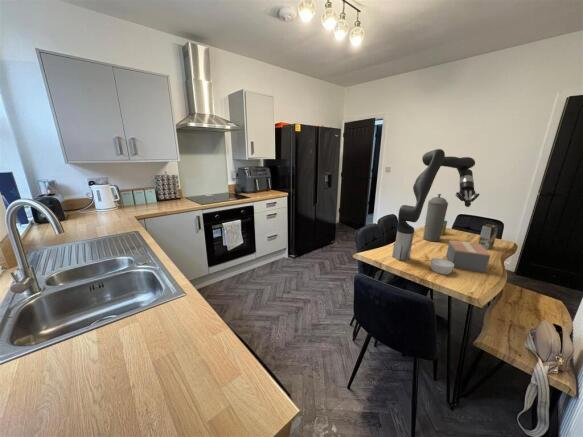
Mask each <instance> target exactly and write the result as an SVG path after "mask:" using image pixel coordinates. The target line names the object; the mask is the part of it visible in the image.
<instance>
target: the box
mask: <svg viewBox="0 0 583 437" xmlns="http://www.w3.org/2000/svg"><path fill="white" fill-rule="evenodd" d="M445 257H446V260H449V261H451V262H452V263H454V267H453V269H454V268H455V269H460V270H465V271H466V270H467V271H472V272H479V273H484V274H486V273H487V269H488V265H489V263H490V262H489V261H490V258H491V255H490V256H485V255H478V254H471V253H464V252H457V251H455V250H454V248H453V247H452V245H451V244H450V242H448V245H447V251H446V255H445Z"/></svg>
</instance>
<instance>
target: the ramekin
mask: <svg viewBox="0 0 583 437" xmlns="http://www.w3.org/2000/svg"><path fill="white" fill-rule="evenodd" d="M429 262H430V269H431V270H432V271H433V272H434V273H436V274H440V275H450V274H452V271H453V269H454V268H453V267H454V263H452V262H451V261H449V260H448V259H447V258H446V259H445V258H439V257H435V258H434V257H433V258H431V259H430V261H429Z"/></svg>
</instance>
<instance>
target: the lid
mask: <svg viewBox="0 0 583 437" xmlns="http://www.w3.org/2000/svg"><path fill="white" fill-rule="evenodd" d="M449 242H450V244H451V245H452V247H453V248H454V250H455V251H457V252H464V253H471V254H478V255H485V256H490V257H491V254H490V253H489V252H488V250H486V249H484V247H483V246H482V245H481V244H478V243H473V242H467V241H458V240H451V239H450V240H449ZM449 242H448V243H449Z"/></svg>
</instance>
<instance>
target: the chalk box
mask: <svg viewBox="0 0 583 437" xmlns="http://www.w3.org/2000/svg"><path fill="white" fill-rule="evenodd" d="M447 224H448V221H447V220H446V219H445V220H444V224H443V228H442V232H441V236H442V235H445V233H446V229H447V226H448V225H447Z"/></svg>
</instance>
